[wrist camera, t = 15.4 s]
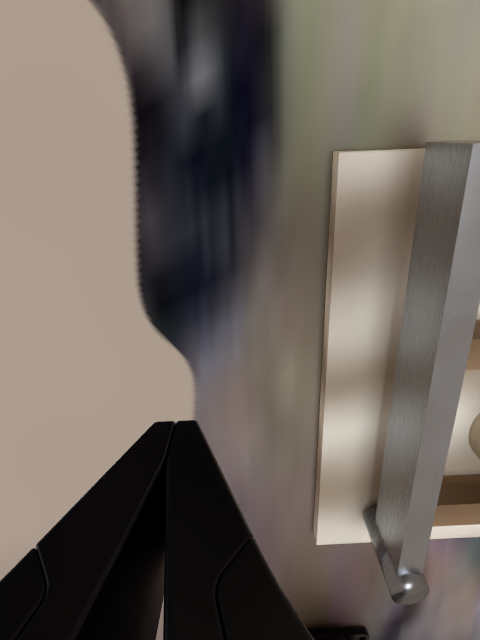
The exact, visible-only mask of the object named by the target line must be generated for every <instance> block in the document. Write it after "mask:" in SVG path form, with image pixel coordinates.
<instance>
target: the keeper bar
mask: <svg viewBox="0 0 480 640" xmlns="http://www.w3.org/2000/svg"><path fill="white" fill-rule="evenodd" d="M479 304H480V141H442V142H426V147H425V154H424V161H423V169H422V176H421V184H420V191H419V199H418V206H417V213H416V221H415V228H414V236H413V243H412V251H411V258H410V265H409V273H408V280H407V288H406V295H405V303H404V310H403V317H402V325H401V332H400V340H399V347H398V355H397V362H396V369H395V377H394V384H393V392H392V399H391V407H390V414H389V422H388V429H387V436H386V444H385V451H384V459H383V466H382V474H381V481H380V488H379V496H378V503H377V504H373V505H371V506H369V507H368V508H367V509H366V510H365V511H364V514H363V519H364V522H365V525H366V528H367V530H368V533H369V536H370V539H371V541H372V544H373V547H374V550H375V553H376V555H377V558H378V561H379V564H380V567H381V569H382V572H383V575H384V578H385V580H386V583H387V586H388V589H389V592H390V594H391V597H392V599H393V600H394V601H395V602H396V603H398V604H402V605H411V604H415V603H418V602H420V601H422V600H423V599H424V598H425V597H426V596H427V595H428V593H429V587H428V585H427V582H426V580H425V578H424V576H423V569H424V564H425V560H426V555H427V550H428V545H429V541H430V536H431V531H432V527H433V522H434V517H435V512H436V508H437V503H438V498H439V493H440V489H441V484H442V479H443V474H444V470H445V465H446V460H447V455H448V451H449V446H450V441H451V437H452V432H453V427H454V422H455V418H456V413H457V408H458V403H459V399H460V394H461V389H462V384H463V380H464V375H465V370H466V365H467V361H468V356H469V351H470V347H471V342H472V337H473V332H474V328H475V323H476V318H477V313H478V309H479Z"/></svg>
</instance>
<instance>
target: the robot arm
mask: <svg viewBox="0 0 480 640" xmlns="http://www.w3.org/2000/svg"><path fill="white" fill-rule="evenodd" d="M36 549H37V550H36ZM36 549H35V548H33V549H32V550H31V551H29V553H27V555H26V556H25V557H24V558H23V559H22V560H21V561H20V562H19V563H18V564H17V565H16V566H15V567H14V568H13V569H12V570H11V571H10V572H9V573H8V574H7V575H6V576H5V577H4V578H3V579H2V580H1V581H0V640H155V639H156V634H157V629H158V623H159V618H160V612H161V607H162V602H163V597H164V631H163V632H164V633H163V640H369V635H368V631H367V630H366V629H362V628H360V629H341V630H323V631H308V629H307V628H306V626H305V625H304V623H303V622H302V620H301V619H300V617H299V616H298V614H297V613H296V611H295V610H294V608H293V607H292V605H291V603H290V602H289V600H288V599H287V597H286V595H285V594H284V592H283V591H282V589H281V587H280V586H279V584H278V582H277V581H276V579H275V577H274V575H273V573H272V571H271V569H270V568H269V566H268V564H267V562H266V560H265V558H264V556H263V554H262V552H261V550H260V548H259V546H258V544H257V542H256V540H255V539H253V534H252V532H251V530H250V528H249V526H248V524H247V522H246V520H245V518H244V516H243V514H242V512H241V510H240V508H239V506H238V504H237V502H236V500H235V498H234V496H233V493H232V491H231V489H230V487H229V485H228V483H227V481H226V479H225V477H224V475H223V473H222V471H221V469H220V467H219V465H218V463H217V461H216V459H215V457H214V455H213V453H212V451H211V448H210V446H209V444H208V442H207V440H206V438H205V436H204V434H203V432H202V430H201V428H200V426H199V424H198V422H197V421H195V420H190V421H178V422H177V423H175V422H173V421H166V422H155V423H154V424H153V425H152V426H151V427H150V428H149V429H148V430H147V431H146V432H145V433H144V434H143V435H142V436H141V437H140V438H139V439H138V440H137V441H136V442H135V443H134V444H133V445H132V446H131V448H130V449H129V450H128V451H127V452H126V453H125V454H124V455H123V456H122V457H121V458H120V459H119V460H118V461H117V462H116V463H115V464H114V465H113V466H112V467H111V468H110V469H109V470H108V471H107V472H106V473H105V474H104V475H103V476H102V477H101V478H100V479H99V481H98V482H97V483H96V484H95V485H94V486H93V487H92V488H91V489H90V490H89V491H88V492H87V493H86V494H85V495H84V496H83V497H82V498H81V499H80V500H79V501H78V502H77V503H76V504H75V505H74V506H73V507H72V508H71V509H70V511H68V513H67V514H66V515H65V516H64V517H63V518H62V519H61V520H60V521H59V522H58V523H57V524H56V525H55V526H54V527H53V528H52V529H51V530H50V531H49V532H48V533H47V534H46V535H45V536H44V537H43V538H42V539H41V540H40V541H39V542H38V543H37V545H36Z"/></svg>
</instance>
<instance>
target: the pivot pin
mask: <svg viewBox="0 0 480 640" xmlns="http://www.w3.org/2000/svg"><path fill="white" fill-rule="evenodd" d="M469 444H470V447H471V449H472V450H473V452H474V453H475V454H476V455H477V457H478V458H479V459H480V413H479V414H478V415H477V416H476V418H475V419H474V421H473V422H472V425H471V427H470V430H469Z"/></svg>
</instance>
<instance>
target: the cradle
mask: <svg viewBox="0 0 480 640" xmlns="http://www.w3.org/2000/svg"><path fill="white" fill-rule="evenodd" d="M424 154H425V148H417V149H390V150H362V151H335V152H333V164H332V183H331V202H330V222H329V241H328V260H327V279H326V299H325V318H324V337H323V357H322V376H321V395H320V415H319V434H318V453H317V472H316V492H315V511H314V530H313V531H314V535H315V540H316V544H317V545H327V544H346V543H366V542H372V541H371V539H370V536H369V533H368V530H367V528H366V525H365V522H364V519H363V514H364V511H365V510H366V509H367V508H368V507H369V506H371V505H373V504H377V503H378V496H379V488H380V481H381V474H382V466H383V459H384V451H385V444H386V436H387V429H388V422H389V414H390V407H391V399H392V392H393V384H394V377H395V369H396V362H397V355H398V347H399V340H400V332H401V325H402V317H403V310H404V303H405V295H406V288H407V280H408V273H409V265H410V258H411V251H412V243H413V236H414V228H415V221H416V213H417V206H418V199H419V191H420V184H421V176H422V169H423V161H424ZM479 413H480V304H479V309H478V313H477V318H476V323H475V328H474V332H473V337H472V342H471V347H470V351H469V356H468V361H467V365H466V370H465V375H464V380H463V384H462V389H461V394H460V399H459V403H458V408H457V413H456V418H455V422H454V427H453V432H452V437H451V441H450V446H449V451H448V455H447V460H446V465H445V470H444V474H443V479H442V484H441V489H440V493H439V498H438V503H437V508H436V512H435V517H434V522H433V527H432V531H431V536H430V539H445V538H464V537H480V459H479V458H478V457H477V455H476V454H475V453H474V452H473V450H472V449H471V447H470V444H469V430H470V427H471V425H472V422H473V421H474V419H475V418H476V416H477V415H478V414H479Z"/></svg>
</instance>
